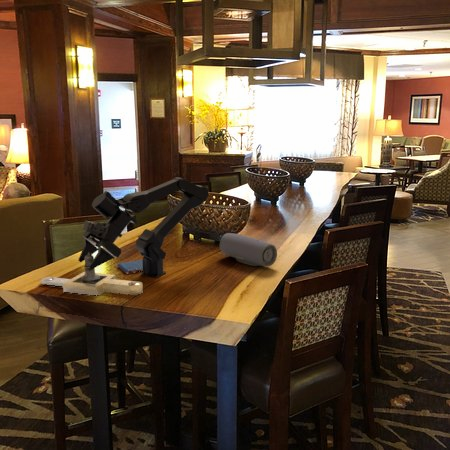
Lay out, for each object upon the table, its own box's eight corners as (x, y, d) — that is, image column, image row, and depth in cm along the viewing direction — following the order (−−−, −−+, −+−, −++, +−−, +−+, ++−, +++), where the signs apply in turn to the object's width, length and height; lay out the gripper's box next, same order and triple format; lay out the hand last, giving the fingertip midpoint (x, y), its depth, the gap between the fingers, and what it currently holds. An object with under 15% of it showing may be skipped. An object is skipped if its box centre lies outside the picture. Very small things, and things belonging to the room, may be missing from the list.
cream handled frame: (116, 283, 162) (116, 279, 161) (97, 296, 151) (97, 291, 150) (53, 277, 168) (52, 272, 168) (30, 288, 157) (30, 284, 157)
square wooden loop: (150, 287, 158) (149, 278, 158) (133, 300, 147) (132, 291, 146) (84, 280, 165) (83, 271, 164) (63, 292, 154) (62, 283, 153)
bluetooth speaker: (278, 267, 179) (278, 240, 176) (260, 272, 173) (260, 245, 170) (236, 254, 195) (236, 229, 193) (218, 258, 189) (218, 233, 187)
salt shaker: (90, 292, 154) (87, 255, 151) (77, 288, 157) (75, 252, 154) (104, 286, 159) (102, 251, 156) (91, 283, 162) (89, 248, 159)
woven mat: (154, 271, 176) (154, 266, 175) (125, 276, 171) (125, 270, 170) (144, 263, 185) (143, 258, 184) (116, 268, 180) (116, 262, 179)
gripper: (86, 206, 162) (55, 244, 158) (109, 215, 147) (76, 257, 143) (110, 226, 168) (81, 263, 164) (134, 237, 154) (103, 277, 150)
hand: (84, 264), depth 155 cm, fingers open, 9 cm apart
